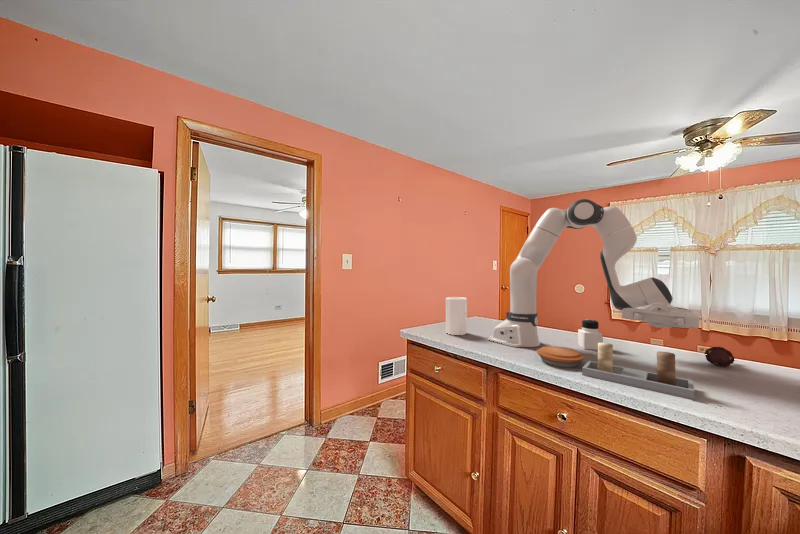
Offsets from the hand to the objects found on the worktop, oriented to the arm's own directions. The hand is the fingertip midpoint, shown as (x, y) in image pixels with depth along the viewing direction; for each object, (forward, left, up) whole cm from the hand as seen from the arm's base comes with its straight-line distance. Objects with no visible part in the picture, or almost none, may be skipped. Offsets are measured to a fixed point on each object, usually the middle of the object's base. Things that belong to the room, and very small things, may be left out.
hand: (657, 319), depth 99 cm
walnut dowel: (+3, -14, -18) cm, 23 cm away
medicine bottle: (-23, +21, -18) cm, 36 cm away
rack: (-5, -14, -18) cm, 23 cm away
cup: (-80, +4, -18) cm, 82 cm away
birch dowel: (-12, -14, -18) cm, 26 cm away
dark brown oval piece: (+16, +26, -18) cm, 36 cm away
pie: (-27, -10, -18) cm, 34 cm away
